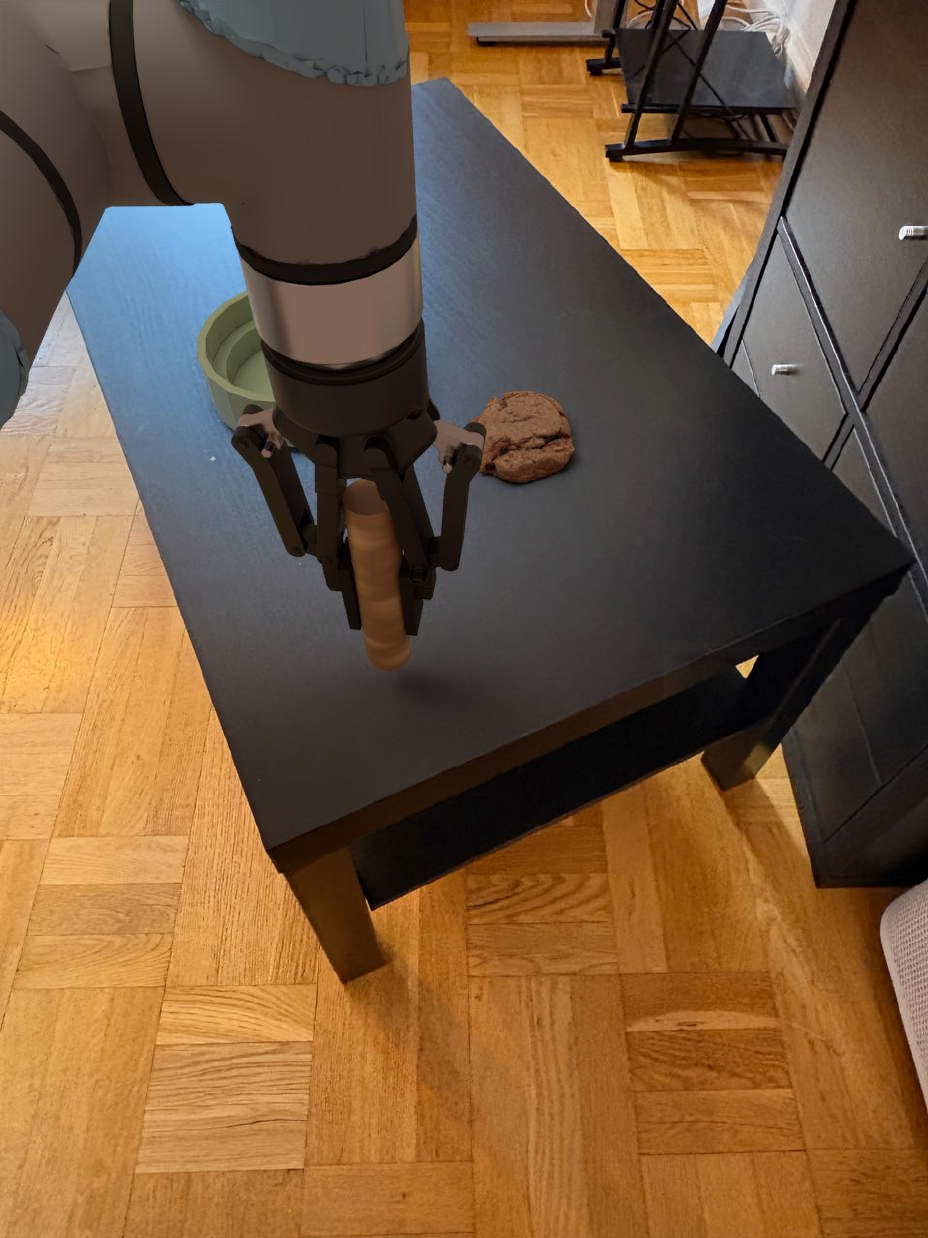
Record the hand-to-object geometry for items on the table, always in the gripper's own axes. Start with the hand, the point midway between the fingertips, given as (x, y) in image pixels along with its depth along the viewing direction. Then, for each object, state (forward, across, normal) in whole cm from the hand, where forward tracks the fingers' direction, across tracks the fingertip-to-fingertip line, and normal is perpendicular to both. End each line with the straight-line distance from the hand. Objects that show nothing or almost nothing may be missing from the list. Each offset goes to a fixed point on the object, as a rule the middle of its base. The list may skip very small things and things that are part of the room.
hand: (387, 615), depth 57 cm
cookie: (+7, -7, -25) cm, 27 cm away
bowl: (+7, +14, -30) cm, 34 cm away
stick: (+3, 0, +1) cm, 3 cm away
